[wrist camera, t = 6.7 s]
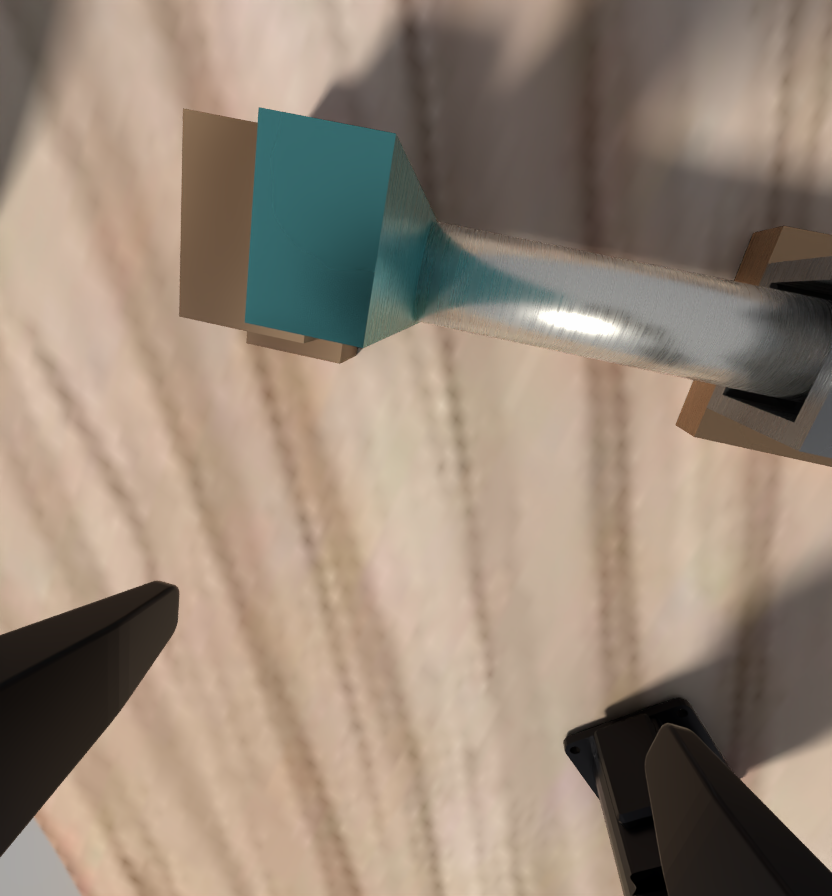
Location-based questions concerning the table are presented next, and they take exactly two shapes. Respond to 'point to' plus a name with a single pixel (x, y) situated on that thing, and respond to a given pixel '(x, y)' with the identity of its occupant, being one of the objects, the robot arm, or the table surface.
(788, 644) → the table surface
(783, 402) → the sleeve
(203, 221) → the socket
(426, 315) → the teal block on rod
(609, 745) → the robot arm
